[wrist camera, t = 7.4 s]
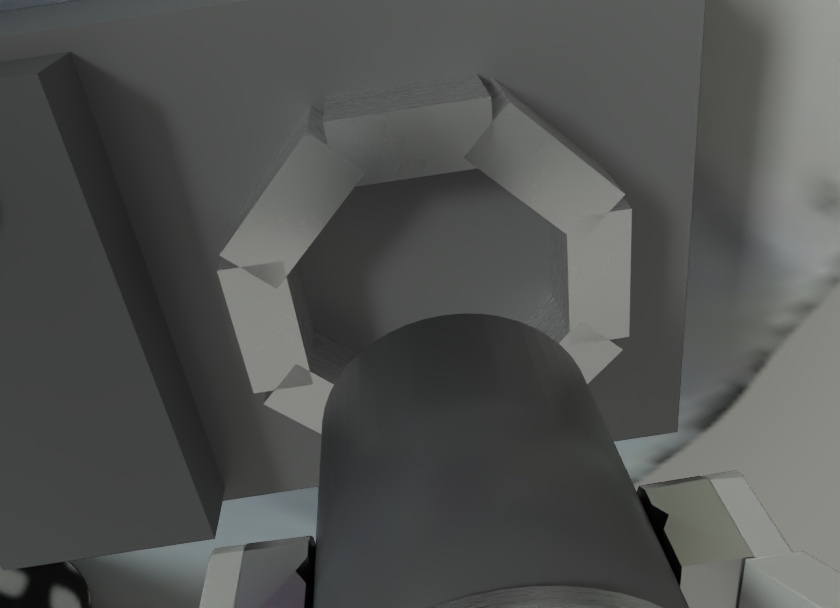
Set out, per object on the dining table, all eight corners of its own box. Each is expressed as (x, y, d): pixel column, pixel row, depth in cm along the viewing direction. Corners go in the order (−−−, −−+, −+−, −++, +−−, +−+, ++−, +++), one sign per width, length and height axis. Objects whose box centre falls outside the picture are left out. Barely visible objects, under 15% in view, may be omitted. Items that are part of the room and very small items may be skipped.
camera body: (85, 424, 27) (2, 600, 21) (-98, 26, 20) (-311, 102, 14) (625, 343, 27) (712, 492, 21) (633, -82, 20) (768, -58, 14)
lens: (345, 544, 15) (342, 1012, 9) (292, 335, 13) (236, 791, 6) (594, 506, 15) (762, 948, 9) (592, 290, 13) (826, 700, 6)
